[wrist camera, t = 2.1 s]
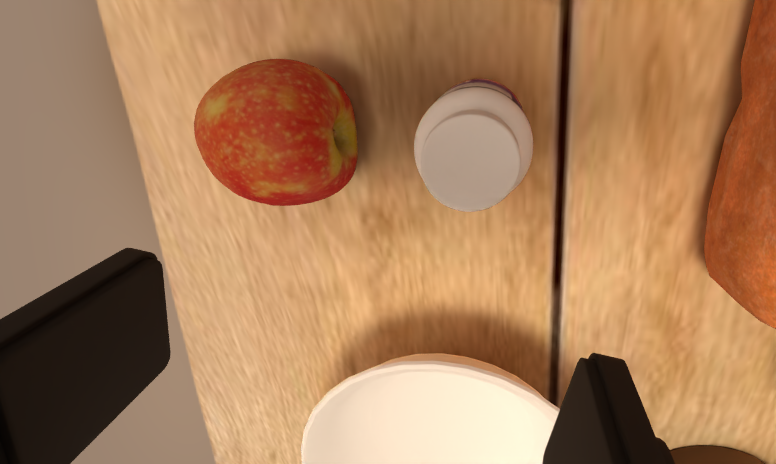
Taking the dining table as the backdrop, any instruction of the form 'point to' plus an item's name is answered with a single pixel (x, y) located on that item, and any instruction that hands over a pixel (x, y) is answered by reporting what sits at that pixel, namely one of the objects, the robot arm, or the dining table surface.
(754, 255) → the bread
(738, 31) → the dining table surface
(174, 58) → the dining table surface
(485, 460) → the bowl
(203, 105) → the apple
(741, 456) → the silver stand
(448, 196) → the pill bottle
